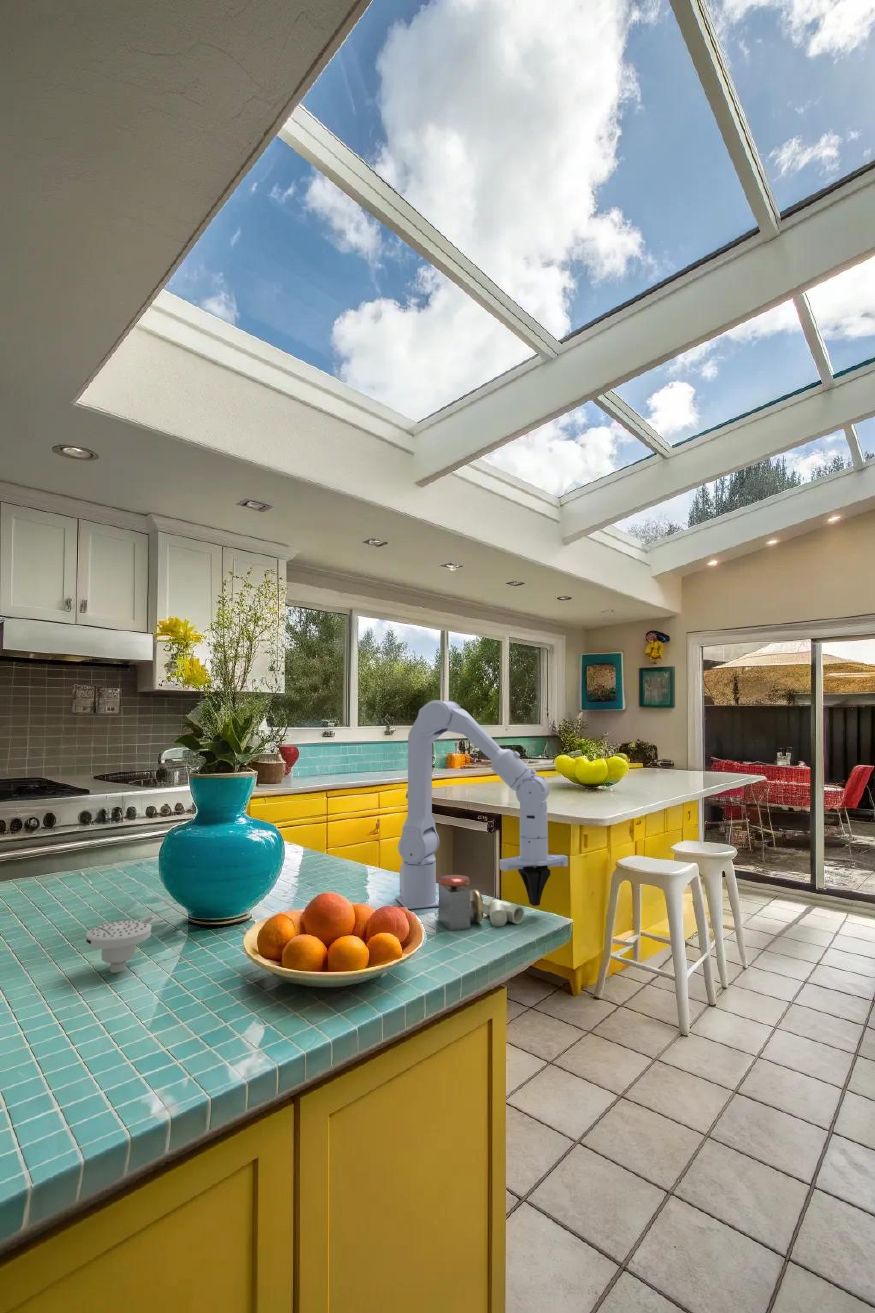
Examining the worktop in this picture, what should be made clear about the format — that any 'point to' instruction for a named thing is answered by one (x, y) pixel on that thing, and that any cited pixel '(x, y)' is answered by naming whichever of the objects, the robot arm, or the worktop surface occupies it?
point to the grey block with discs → (458, 903)
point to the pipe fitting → (503, 912)
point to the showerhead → (118, 940)
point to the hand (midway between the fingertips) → (534, 904)
